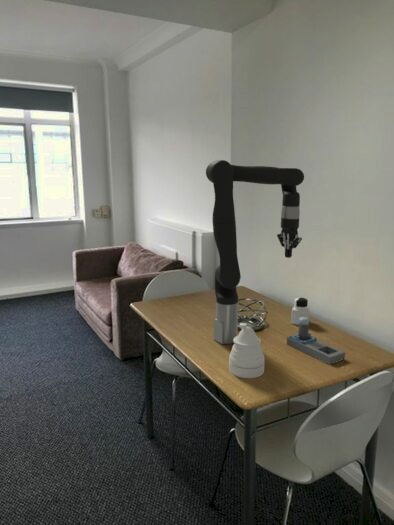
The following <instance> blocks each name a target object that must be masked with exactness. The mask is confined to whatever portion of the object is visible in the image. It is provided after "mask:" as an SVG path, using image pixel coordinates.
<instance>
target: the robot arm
mask: <svg viewBox="0 0 394 525" xmlns="http://www.w3.org/2000/svg"><path fill="white" fill-rule="evenodd" d="M205 177H206V179H208V181H209V182H211V183H212V184H213V190H214V191H213V192H214V204H213V209H212V210H213V211H212V230H213V231H212V232H213V237H214V241H215V242H214V243H215V244H216V248H217V252H218V255H219V265H218V266H217V267H216V269H215V272H214V293H215V306H216V307H215V318H214V319H213V340H214V341H216V342H217V343H218V344H221V345H224V344H225V345H226V344H227V345H230V344H234V341H233V339H234V338H235V337H236V336H238V322H239V319H238V318H239V295H238V291H237V286H238V285H239V283H240V281H241V278H242V277H241V270H240V265H239V258H238V243H237V242H238V241H237V240H238V239H237V225H236V224H237V222H236V213H235V212H236V211H235V210H236V209H235V202H234V182H240V183H241V182H244V183H251V184H258V185H260V184H261V185H281V186H280V187H281V192H282V204H281V205H282V206H281V214H280V215H281V216H280V228H281V232H280V233H278V234H277V235H276V236H277V239H278V241H279V244H280V245H281V247H283V248H284V257H285V258H287V259H289V258H292V256H293V249H296V248H297V247H298V246H299V245H300V243H301V241H302V240H303V239H302V237H300V236H299V232H298V229H299V228H300V217H301V216H300V214H301V213H300V203H301V200H300V199H301V195H300V193H299V192H298V190H297V186H299V185H302V183H303V182H304V179H305V173H304V172H303V170H302V169H299V168H295V167H294V168H293V167H289V168H288V167H276V166H265V165H254V166H253V165H249V166H248V165H236V164H235V165H234V164H231V163H230V162H229V161H227V160H225V159H217V160H214V161H212V162H209V164H207V166H206V169H205Z"/></svg>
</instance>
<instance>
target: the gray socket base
mask: <svg viewBox="0 0 394 525" xmlns="http://www.w3.org/2000/svg"><path fill="white" fill-rule="evenodd" d="M299 338H300V337H299V336H298V333H296V334H293V335H290V336H288V337H286V345H288V346H290V347H292V348H294V349H296V350H298V351H300V352H302V353H303V354H304V353H305V354H306V355H308V356H310V355H311V357H312V356H313V357H312V358H314V357H315V359H316V358H317V359H316V360H318V359H320V360H319V361H321V360H322V361H321V362H323V361H324V362H323V363H325V362H326V363H325V364H327V363H328V364H327V365H329V364H330V365H332V364H331V363H333V362H336V361H339V360H341V359H344V358H345V359H346V351H343V350H341V349H339V348H337V347H335V346H332V345H330V344H328V343H325V342H323V341H321V340H318V339H317V338H316V337H315V336H312V333H311V332H309V331H308V340H305V341H302V340H300V339H299ZM327 353H328V354H327ZM345 359H344V360H345ZM339 362H340V361H339ZM336 363H337V362H336ZM333 364H334V363H333Z"/></svg>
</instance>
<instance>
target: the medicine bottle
mask: <svg viewBox="0 0 394 525" xmlns="http://www.w3.org/2000/svg"><path fill="white" fill-rule="evenodd" d="M308 302H309V300H308V299H307V298H305V297H295V298H294V305H293V307H292V309H291V314H290V315H291V317H290V325H296V326H299V318H300V317H307V318H309V319H310V307H308Z"/></svg>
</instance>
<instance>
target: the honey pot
mask: <svg viewBox="0 0 394 525" xmlns="http://www.w3.org/2000/svg"><path fill="white" fill-rule="evenodd" d="M239 328H240V329H241V330H240V331H239V333H238V334H237V336H236V337H235V338H234V339H233V341H234V343H233V345H232V348H231V351H230V354H229V356H228V357H229V358H228V359H229V360H228V370H229V372H230V374H232V375H234V376H235V377H239V378H244V379H255V378H258V377H260V376H263V374H264V372H265V355H264V351H263V348H262V346H261V343H262V340H261V338H260V337H258V336H257V333H256V332H255V330H254V329H253V328H252V327H250V326H247V323H245V322H240V323H239Z"/></svg>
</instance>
